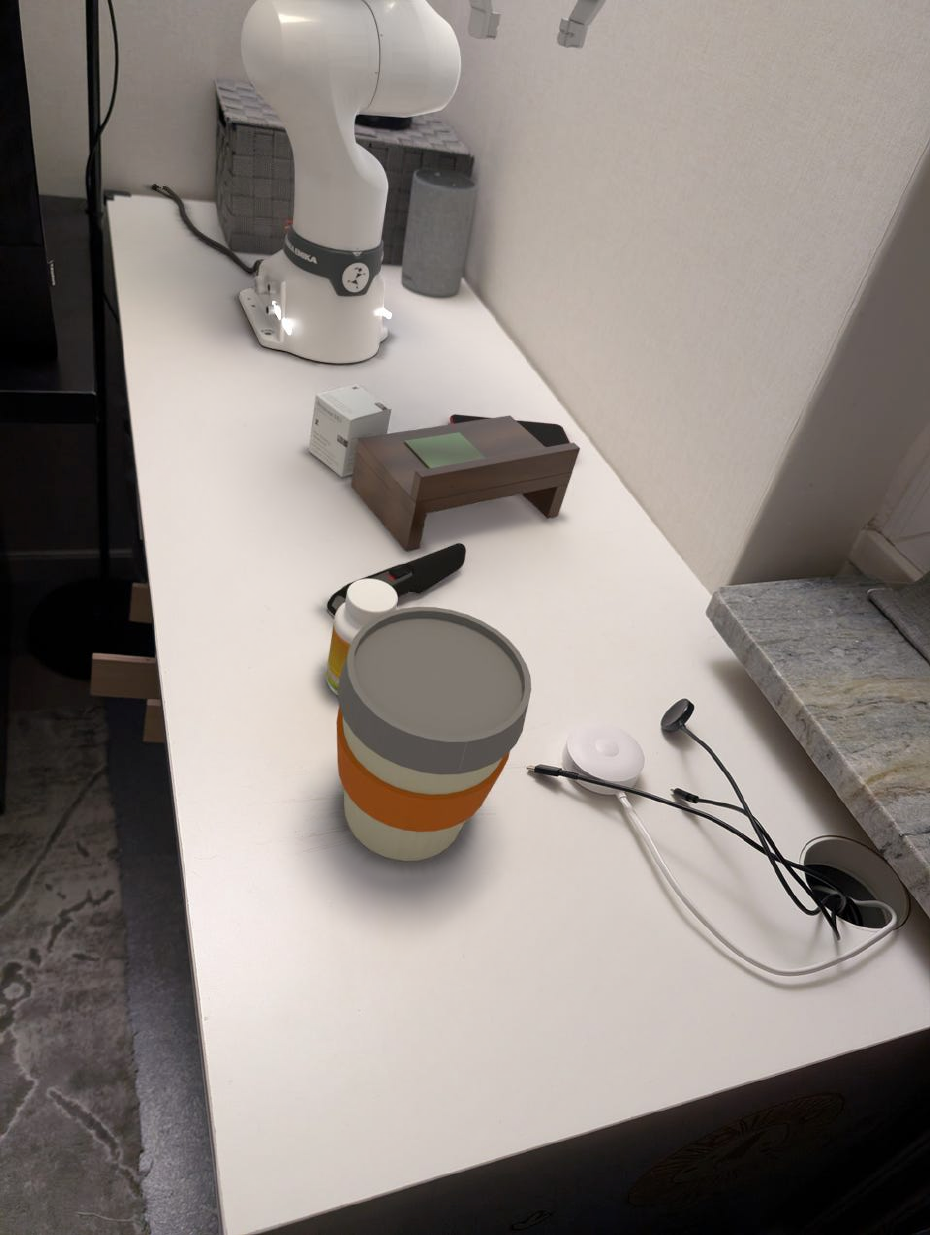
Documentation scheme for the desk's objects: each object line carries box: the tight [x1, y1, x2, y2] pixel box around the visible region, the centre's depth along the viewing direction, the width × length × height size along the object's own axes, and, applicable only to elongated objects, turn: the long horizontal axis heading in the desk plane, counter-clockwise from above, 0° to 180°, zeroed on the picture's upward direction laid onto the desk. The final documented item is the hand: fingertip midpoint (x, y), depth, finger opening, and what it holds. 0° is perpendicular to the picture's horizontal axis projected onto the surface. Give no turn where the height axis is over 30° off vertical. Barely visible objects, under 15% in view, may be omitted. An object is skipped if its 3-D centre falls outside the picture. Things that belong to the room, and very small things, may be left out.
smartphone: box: [449, 413, 571, 447], centre depth 111 cm, size 7×1×15 cm
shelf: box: [350, 415, 581, 553], centre depth 96 cm, size 12×20×9 cm, turn 123°
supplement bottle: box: [325, 578, 399, 696], centre depth 73 cm, size 5×5×10 cm
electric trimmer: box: [326, 542, 467, 618], centre depth 85 cm, size 4×16×3 cm, turn 134°
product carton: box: [308, 383, 393, 478], centre depth 98 cm, size 6×6×7 cm
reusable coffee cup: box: [336, 606, 532, 862], centre depth 62 cm, size 13×13×15 cm
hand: (526, 43), depth 70 cm, fingers open, 8 cm apart
